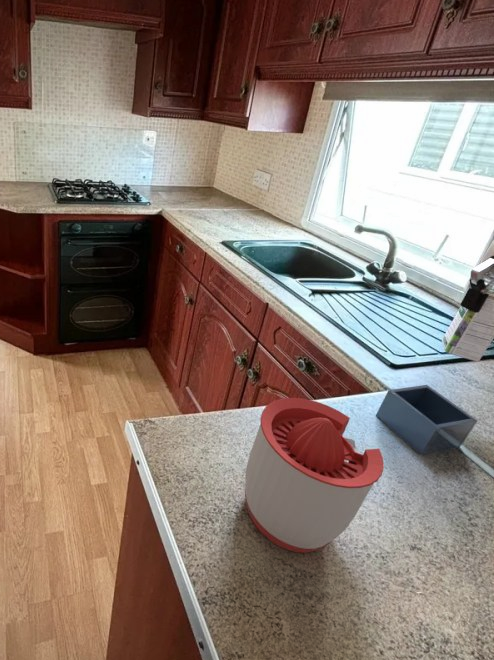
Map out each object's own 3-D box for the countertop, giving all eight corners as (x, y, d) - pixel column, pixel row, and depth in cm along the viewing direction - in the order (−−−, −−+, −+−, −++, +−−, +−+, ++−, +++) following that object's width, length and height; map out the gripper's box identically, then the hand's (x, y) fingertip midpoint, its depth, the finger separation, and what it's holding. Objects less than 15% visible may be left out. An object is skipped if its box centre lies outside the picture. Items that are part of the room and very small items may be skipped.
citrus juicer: (373, 558, 58) (436, 461, 49) (265, 577, 54) (312, 475, 45) (307, 467, 71) (347, 378, 63) (217, 477, 68) (246, 384, 59)
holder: (412, 409, 89) (426, 384, 86) (460, 447, 80) (478, 420, 77) (375, 415, 86) (388, 389, 83) (420, 455, 77) (437, 428, 74)
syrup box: (440, 340, 87) (473, 279, 80) (473, 349, 85) (510, 288, 78) (444, 353, 82) (480, 289, 76) (480, 363, 80) (519, 299, 73)
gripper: (525, 227, 65) (472, 320, 73) (592, 228, 70) (536, 315, 78) (478, 214, 72) (434, 301, 79) (542, 215, 77) (495, 297, 84)
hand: (485, 307), depth 79 cm, fingers closed on syrup box, 8 cm apart
